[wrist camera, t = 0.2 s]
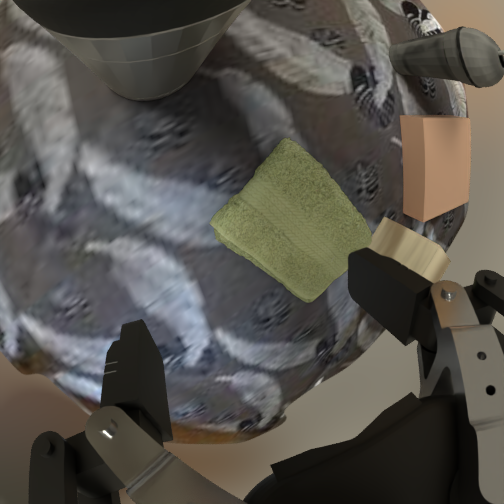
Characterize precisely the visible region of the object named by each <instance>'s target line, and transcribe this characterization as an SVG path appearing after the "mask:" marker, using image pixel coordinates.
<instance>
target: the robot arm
mask: <svg viewBox="0 0 504 504" xmlns="http://www.w3.org/2000/svg"><path fill="white" fill-rule="evenodd" d="M13 1H14V2H15V3H16V5H17V6H18V7H19V8H20V9H22V10H23V11H24V12H25V13H26V14H27V15H29V16H30V17H31V18H32V19H33V20H34V21H36V22H37V23H38V24H40V25H41V26H42V27H43V28H45V29H46V30H47V31H48V32H49V33H50V34H51V35H52V36H54V37H55V38H56V39H57V40H58V41H59V42H60V43H62V44H63V45H64V46H65V47H66V48H67V49H68V50H70V51H71V52H72V53H73V54H74V55H75V56H76V57H77V58H78V59H79V60H80V61H81V62H83V63H84V64H85V65H86V66H87V67H88V68H89V69H90V70H91V71H92V72H93V73H94V74H95V75H97V76H98V77H99V78H100V79H101V80H102V81H103V82H104V83H105V84H106V85H107V86H108V87H109V88H110V89H111V90H113V91H114V92H115V93H117V94H118V95H120V96H122V97H125V98H127V99H131V100H136V101H151V100H156V99H161V98H163V97H166V96H169V95H171V94H173V93H174V92H176V91H178V90H179V89H181V88H182V87H183V86H184V85H185V84H187V83H188V82H189V80H190V79H191V78H192V77H193V75H194V74H195V73H196V71H197V70H198V68H199V67H200V66H201V64H202V63H203V61H204V60H205V59H206V57H207V56H208V54H209V53H210V52H211V50H212V49H213V47H214V46H215V45H216V43H217V42H218V41H219V39H220V38H221V37H222V36H223V34H224V33H225V32H226V30H227V29H228V28H229V27H230V25H231V24H232V23H233V22H234V20H235V19H236V18H237V17H238V16H239V14H240V13H241V12H242V11H243V10H244V8H245V7H246V6H247V5H248V4H249V3H250V2H251V0H13ZM348 290H349V293H350V295H351V297H352V299H353V300H354V301H355V302H356V303H357V304H359V305H360V306H361V307H362V308H363V309H364V310H365V311H367V312H368V313H369V314H370V315H371V316H372V317H373V318H374V319H376V320H377V321H378V322H379V323H380V324H381V325H382V326H383V327H385V328H386V329H387V330H388V331H389V332H390V333H391V334H392V335H394V336H395V337H396V338H397V339H398V340H399V341H400V342H402V344H404V345H405V346H407V345H408V344H410V343H411V342H413V341H414V340H417V341H418V345H417V354H418V363H419V373H420V394H419V398H417V397H416V396H415V395H414V394H413V393H412V392H411V393H409V394H408V395H407V396H405V397H404V398H402V399H401V400H399V401H398V402H396V403H395V404H393V405H392V406H390V407H389V408H387V409H386V410H384V411H383V412H382V413H381V414H380V415H379V416H378V417H377V418H376V419H375V420H374V421H373V422H372V423H371V424H370V425H368V426H367V427H366V428H365V429H364V430H363V431H362V432H361V433H360V434H359V435H358V436H356V437H355V438H353V439H351V440H348V441H344V442H340V443H336V444H332V445H328V446H324V447H319V448H315V449H310V450H308V451H305V452H303V453H301V454H298V455H296V456H293V457H291V458H288V459H286V460H283V461H280V462H278V463H275V464H272V465H271V468H272V470H273V474H271V475H269V476H268V477H266V478H265V479H264V480H262V481H261V482H260V483H258V484H257V485H256V486H255V487H254V488H253V489H252V490H251V491H250V492H249V493H248V495H247V496H246V497H245V498H244V500H243V501H242V500H240V499H238V498H237V497H235V496H233V495H232V494H230V493H228V492H227V491H225V490H223V489H221V488H220V487H219V486H217V485H215V484H214V483H212V482H211V481H209V480H208V479H206V478H205V477H203V476H202V475H201V474H199V473H198V472H196V471H195V470H193V469H192V468H191V467H189V466H188V465H187V464H185V463H184V462H182V461H181V460H180V459H179V458H177V457H176V456H175V455H173V454H172V453H170V452H168V451H167V450H166V449H164V446H163V442H166V441H171V440H173V435H172V429H171V422H170V415H169V408H168V400H167V392H166V383H165V373H164V364H163V360H162V357H161V354H160V352H159V350H158V348H157V346H156V344H155V342H154V340H153V338H152V336H151V334H150V332H149V330H148V328H147V326H146V324H145V322H144V321H143V320H142V319H141V320H137V321H133V322H130V323H126V324H123V325H122V328H121V335H120V340H118V341H114V342H113V343H112V345H111V347H110V348H109V350H108V352H107V355H106V362H105V364H106V366H105V369H104V374H105V375H104V376H103V385H102V394H101V404H100V409H98V410H96V411H95V412H94V413H93V414H92V415H91V416H90V417H89V419H88V420H87V423H86V426H85V431H83V432H81V433H79V434H76V435H74V436H72V437H70V438H67V439H64V438H63V437H61V436H60V435H59V434H58V433H56V432H53V431H47V432H44V433H42V434H41V435H39V436H38V437H37V438H36V440H35V441H34V443H33V445H32V449H31V458H30V471H29V504H121V503H120V497H119V490H120V489H122V488H125V487H127V488H128V490H126V492H127V494H128V495H129V497H130V498H131V499H132V500H133V501H134V502H135V503H136V504H504V335H503V334H502V333H501V332H499V331H498V330H497V329H496V328H494V327H493V326H492V325H491V324H492V321H493V319H494V316H495V313H496V311H498V312H499V313H500V314H501V315H503V316H504V277H502V276H501V275H499V274H498V273H496V272H494V271H490V270H481V271H479V272H477V273H476V275H475V279H474V284H473V285H470V286H466V287H462V286H461V285H459V284H458V283H456V282H452V281H447V280H446V281H445V280H443V281H438V282H436V283H432V282H431V281H429V280H428V279H426V278H424V277H423V276H421V275H419V274H418V273H416V272H415V271H413V270H411V269H408V267H406V266H405V265H403V264H402V265H401V263H400V262H398V261H396V260H394V259H393V258H390V257H387V256H383V255H380V254H378V253H377V252H375V251H373V250H372V249H370V248H368V247H365V248H362V249H359V250H356V251H354V252H351V253H350V254H349V255H348ZM77 493H78V498H77Z"/></svg>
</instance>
